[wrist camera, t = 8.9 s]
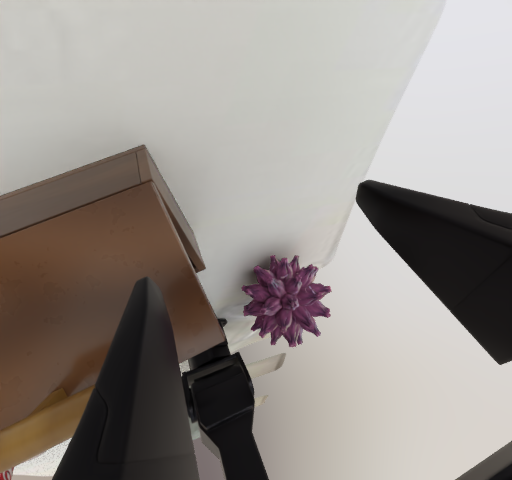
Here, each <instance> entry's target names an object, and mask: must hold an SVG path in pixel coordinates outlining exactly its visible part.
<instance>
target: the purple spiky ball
mask: <svg viewBox="0 0 512 480" xmlns="http://www.w3.org/2000/svg"><path fill="white" fill-rule="evenodd" d="M270 258H271V263H270V268H269V270H270V271H269V270H266V269H262V268H261V267H259V266H256V267H254V273H255V274H256V276H257V281H258V283H259V284H252V285H249V286H244V285H243V287H242V291H244V292H245V293H246V294H247V295H250V296H251V297H252V298H253V300H252V301H251V302H250V303H249V304H248V305H246V306H244V311H243V313H244V316H248V315H253V316H257V318H256V321H255V324H254V325H253V326H252V327H251V330H253V331H255V330H257V329H260V328H261V331H260V333H259V335H260V336H261V337H262V338H264V336H265V335H266V334H267V333H269V332H271V345H275V344H276V342H277V340H278V339H279V338H280V337H281V336H282V335H283V336H284V337H285V339H286V340H287V341H288V343H289V347H294V346H295V347H296V341H297V343H298V345H299V344H302V343H303V341H302V332H303V329H304V330H306V331H308V332H312V333H314V334H315V335H316V336H317V337H318V336H320V334H321V333H320V332H319V330H318V328H317V325H316V322H315V320H314V318H313V317H317V316H324V317H327V318H328V317H330V314H329V312H330V309H329V308H327V307H325V306H324V305H323V304H322V303H321V302H320V301H319V300H320V299H322V298H323V297H324V296H325V295H326V294H327V293H330V292H331V288H330V286H324V285H322V284H315V283H312V282H313V281H314V279H315V276H316V272H317V271H318V268H317V267H313V265H312V264H311V265H309V266H308V267H307V268H304V267H303V268H302V269H301V270H300V267H299V263H298V259H299V256H296V255H295V256H294V259H293V260H292V261H291V262H290V264H289V263H288V259H287V258H282V261H280V262H279V261H278V260H277V259H276V257H275V255H274V256H273V255H272V256H270ZM312 316H313V317H312Z"/></svg>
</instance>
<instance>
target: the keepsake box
mask: <svg viewBox="0 0 512 480" xmlns="http://www.w3.org/2000/svg"><path fill="white" fill-rule="evenodd" d="M150 181H151V182H153V183H154V184H155V186H156V188H157V190H158V192H159V195H160V197H161V199H162V201H163V203H164V205H165V208H166V210H167V212H168V214H169V216H170V218H171V221H172V223H173V225H174V227H175V229H176V231H177V233H178V236H179V238H180V240H181V242H182V244H183V246H184V249H185V251H186V253H187V255H188V257H189V259H190V261H191V264H192V266H193V268H194V270H195V272H196V273H198V272H199V271H202V270H204V269H206V267H205V264H204V262H203V259H202V256H201V253H200V250H199V247H198V244H197V241H196V239H195V236H194V233H193V231H192V229H191V228H190V226H189V224H188V222H187V220H186V219H185V217H184V215H183V213H182V211H181V210H180V208H179V206H178V204H177V202H176V201H175V199H174V197H173V195H172V193H171V192H170V190H169V188H168V186H167V184H166V183H165V181H164V179H163V177H162V175H161V174H160V172H159V170H158V168H157V166H156V165H155V163H154V161H153V159H152V157H151V156H150V154H149V152H148V150H147V148H146V147H145V145H142V146H139V147H136V148H133V149H130V150H128V151H125V152H122V153H119V154H116V155H114V156H111V157H108V158H105V159H102V160H100V161H97V162H94V163H91V164H88V165H86V166H83V167H80V168H77V169H74V170H72V171H69V172H66V173H63V174H60V175H58V176H55V177H52V178H49V179H46V180H44V181H41V182H38V183H35V184H32V185H30V186H27V187H24V188H21V189H18V190H16V191H13V192H10V193H7V194H4V195H2V196H0V238H3V237H6V236H8V235H11V234H13V233H16V232H19V231H21V230H24V229H27V228H29V227H32V226H34V225H37V224H40V223H42V222H45V221H48V220H50V219H53V218H55V217H58V216H61V215H63V214H66V213H69V212H71V211H74V210H76V209H79V208H82V207H84V206H87V205H90V204H92V203H95V202H97V201H100V200H103V199H105V198H108V197H111V196H113V195H116V194H118V193H121V192H124V191H126V190H129V189H132V188H134V187H137V186H140V185H142V184H145V183H147V182H150Z"/></svg>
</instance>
